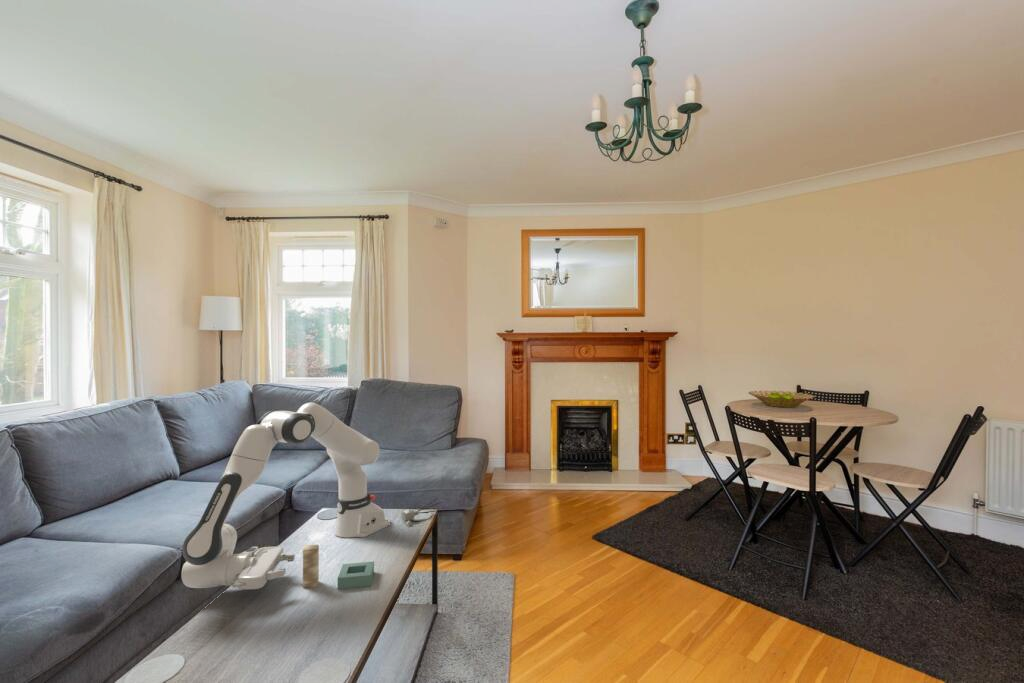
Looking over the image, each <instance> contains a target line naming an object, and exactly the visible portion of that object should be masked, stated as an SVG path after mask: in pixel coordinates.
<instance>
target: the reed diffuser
mask: <svg viewBox="0 0 1024 683" xmlns="http://www.w3.org/2000/svg"><path fill="white" fill-rule="evenodd" d="M437 499H438V500H439V497H438V498H435V499H434V500H432V501H431V502H429V503H428V504H425V505H424V506H423V507H422V508H419V509H417V510H412V509H407V510H404V511H402V512H401V520H402V522H403V521H404V522H405V525H406V527H409V526H408V525H410V524H411V525H412V521H413V520H414V519H415V516H418V515H419V514H430V513H429V512H437V513H439V512H444V511H446V509H441V510H440V509H439V510H438V511H436V510H432V511H431V510H430V511H424V510H427V509H429V508H431V507H434V506H436V505H438V504H441V503H442V502H443V501H441V502H438V503H435V504H433V502H435V501H437ZM430 504H432V505H430ZM428 505H430V506H428ZM427 506H428V507H427ZM422 511H423V512H422ZM411 520H412V521H411ZM404 522H403V523H404Z"/></svg>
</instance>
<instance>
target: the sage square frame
mask: <svg viewBox="0 0 1024 683" xmlns="http://www.w3.org/2000/svg"><path fill="white" fill-rule="evenodd" d="M374 572H375V561H365V562H351V563H343V564H342V566H341V569H340V570H339V573H338V576H337V590H342V589H343V590H344V589H345V590H346V589H354V588H364V587H371V586H372V582H373V577H374Z"/></svg>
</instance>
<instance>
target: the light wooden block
mask: <svg viewBox="0 0 1024 683" xmlns="http://www.w3.org/2000/svg"><path fill="white" fill-rule="evenodd" d="M319 546H320V545H319V544H309V545H305V546H304V548H303V549H302V588H303V589H304V588H311V587H312V588H314V587H317V586H318V583H319V582H320V581H319V580H320V579H319V578H320V577H319V576H320V574H319V564H320V563H319V559H320V557H319V552H320V548H319Z"/></svg>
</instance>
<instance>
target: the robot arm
mask: <svg viewBox="0 0 1024 683" xmlns="http://www.w3.org/2000/svg"><path fill="white" fill-rule="evenodd" d="M310 437H311V438H312V439H314V440H315V441H316V442H318V443H319V444H320V445H322V446H323V447H325V448H326V449H325V450H326V453H327V455H328V456H329V458H330V459H331V460H332V463H333V465H334V469H335V472H336V475H337V480H338V482H337V483H338V497H337V503H336V504H337V518H336V519H337V520H336V524H335V528H334V532H333V533H334V535H335V536H336V537H339V538H365V537H367V536H369V535H372V534H374V533H376V532H378V531H381V530H382V529H384V528H386V527H389V526H390V525H391V520H390V518H388V517H385V512H384V510H383V509H382V508H383V507H382V508H381V507H380V506H379V505H377V504H376V503H374V502H372V501H375V500H376V498H377V496H376V495H374V494H369V493H367V492H368V488H367V487H368V478H367V474H366V472H365V471H363V469H362V467H361V466H368V465H373V464H374V463H375V462H376V461H377V460H378V458H379V456H380V453H381V450H380V449H381V448H380V445H379V444H378V442H376V441H375V440H373V439H371V438H369V437H367V436H366V435H363V434H362V433H361V432H359V431H358V430H355V429H354V428H352V427H350V426H349V425H347V424H346V423H344V422H343V421H341V419H339V418H338V416H335V415H334V414H333V413H332V412H331V411H329V410H328V409H327V408H326V407H324V406H321V405H319V403H316V402H312V401H311V402H306V403H304V404H302V405H301V406H300V407H299V408H298V409H297V411H292V410H291V411H290V410H279V409H275V410H274V409H273V410H270V411H267V412H265V413H264V414H262V416H261V417H260V418H258V421H257V422H256V423H255V424H251V425H249V426H247V427H245V429H244V430H243V431H242V434H241V435H240V436H239V438H238V440H237V442H236V444H235V446H234V448H233V450H232V453H231V455H230V457H229V460H228V462H227V464H226V468H225V469H224V471H223V474H222V476H221V478H220V480H219V482H218V484H217V486H216V487H215V490H214V491H213V494H212V495H211V498H210V500H209V502H208V503H207V506H206V508H205V509H204V512H203V514H202V516H201V518H200V520H199V522H198V524H197V525H196V526H195V528H194V529H192V530H191V532H190V533H189V534H188V535H187V536H186V538H185V539H184V541H183V544H182V547H181V548H182V549H181V551H182V556H183V559H185V563H183V565H182V568H181V573H180V577H181V581H182V584H183V585H185V586H186V587H188V588H190V589H191V588H193V589H207V588H208V589H209V588H215V587H216V588H217V587H218V586H226V587H230V586H231V587H232V588H238V589H239V590H259V589H261V588H264V586H266V584H267V581H271V580H273V579H277V578H282V577H284V576H285V575H286V573H287V572H286V570H287V569H286V568H279V569H278V570H276V568H277V567H278V565H280V562H284V561H287V563H288V562H289V563H290V562H293V561H294V560H295V559H296V558H295V557H296V555H295V554H294V553H291V554H289V553H287V552H284V548H283V547H282V546H264V547H260V548H259V546H251V547H250V548H248V549H246V550H245V551H242V552H240V553H234V552H235V549H236V546H237V541H238V532H237V531H238V530H236V527H235V526H234V525H232V524H230V523H226V520H227V518H228V516H229V514H230V512H231V509H232V507H233V505H234V503H235V502H236V500H237V498H238V497H239V496H241V494H242V493H243V492H244V491H246V490H247V489H248V488H249V487H251V486H253V485H254V484H255V483H257V482H258V481H259V479H260V478H261V476H262V475H263V473H264V471H265V469H266V467H267V466H268V465H267V464H268V461H269V458H270V457H271V456H270V455H271V452H272V450H273V448H274V447H275V446H276V445H277V444H278V443H282V444H283V443H285V444H290V445H296V444H297V445H298V444H302V443H304V442H306V441H308V439H309V438H310ZM388 525H389V526H388Z"/></svg>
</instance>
